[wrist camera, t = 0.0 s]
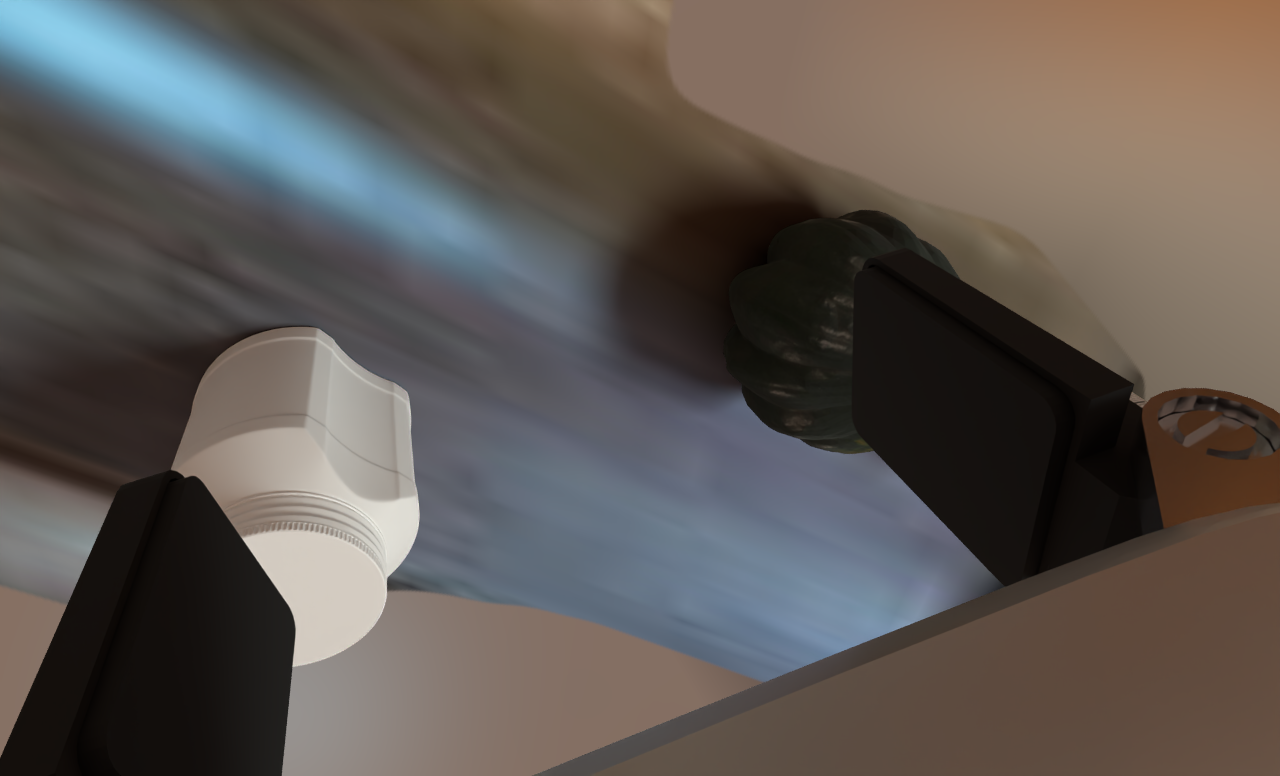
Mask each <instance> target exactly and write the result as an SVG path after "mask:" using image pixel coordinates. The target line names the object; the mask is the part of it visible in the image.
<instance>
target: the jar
mask: <svg viewBox="0 0 1280 776" xmlns="http://www.w3.org/2000/svg"><path fill="white" fill-rule="evenodd" d="M410 430H411V411H410V402H409V397H408V393H407V392H406V391H405V390H404V389H403V388H401V387H400V386H398V385H397V384H396V383H394V382H392V381H388V380H386V379H383V378H381V377H379V376H377V375H375V374H373V373H371V372H369V371H367V370H366V369H364V368H363V367H361V366H360V365H358V364H357V363H356V362H354V361H353V360H352V359H351V358H350V357H349V356H347V355H346V354H345V353H344V352H343V351H342V350H341V349H340V347H339V346H338V345H337V344H336V343H335V341H334V339H333V338H331V337H330V336H328V335H327V334H326V333H324V332H323V331H321V330H320V329H318V328H314V327H287V328H279V329H273V330H269V331H265V332H261V333H258V334H255V335H253V336H250V337H248V338H246V339H243V340H241V341H240V342H238V343H236V344H234V345H233V346H231V347H230V348H228V349H227V350H226V351H224V352H223V353H222V354H221V355H220V356H219V357H217V358H216V359H215V361H214V362H213V363H212V364H211V365H210V366H209V368H208V369H207V371H206V372H205V374H204V376H203V377H202V379H201V381H200V384H199V386H198V389H197V392H196V394H195V397H194V401H193V405H192V411H191V415H190V418H189V420H188V423H187V426H186V429H185V431H184V434H183V437H182V440H181V443H180V445H179V448H178V451H177V454H176V456H175V459H174V462H173V465H172V468H171V470H174V471H177V472H179V473H180V474H182V475H183V476H184V477H185V478H186V477H189V476H196V477H198V478H199V479H200V480H201V481H202V482H203V483H204V484H205V486H206V487H207V489H208V490H209V492H210V493H211V495H212V496H213V497H214V499H215V500H216V502H217V503H218V505H219V506H220V507H221V509H222V510H223V512H224V513H225V515H226V516H227V518H228V519H229V520H230V522H231V523H232V525H233V526H234V528H235V529H236V531H237V532H238V533H239V535H240V536H241V538H242V539H243V541H244V542H245V543H246V545H247V546H248V548H249V549H250V551H251V552H252V554H253V555H254V556H255V558H256V559H257V561H258V562H259V564H260V565H261V567H262V568H263V569H264V571H265V572H266V574H267V575H268V577H269V578H270V579H271V581H272V582H273V584H274V585H275V587H276V588H277V590H278V591H279V592H280V594H281V595H282V597H283V598H284V600H285V601H286V603H287V604H288V605H289V607H290V609H291V611H292V614H293V617H294V621H295V627H296V636H295V646H294V656H293V666H292V667H294V666H300V665H305V664H310V663H313V662H317V661H320V660H323V659H326V658H328V657H331V656H333V655H335V654H338V653H340V652H342V651H343V650H345V649H347V648H349V647H350V646H352V645H353V644H355V643H356V642H357V641H359V640H360V639H361V638H362V637H364V636H365V635H366V634H367V633H368V632H369V631H370V630H371V628H372V627H373V626H374V625H375V623H376V622H377V620H378V619H379V617H380V616H381V613H382V611H383V609H384V606H385V603H386V597H387V577H388V576H389V575H391V574H392V573H393V572H394V571H395V570H396V569H397V567H398V566H399V565H400V564H401V563H402V562H403V560H404V559H405V557H406V556H407V554H408V553H409V551H410V549H411V547H412V545H413V543H414V541H415V538H416V535H417V531H418V526H419V502H418V493H417V489H416V485H415V478H414V467H413V455H412V443H411V431H410Z"/></svg>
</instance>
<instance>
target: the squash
mask: <svg viewBox="0 0 1280 776" xmlns="http://www.w3.org/2000/svg"><path fill="white" fill-rule="evenodd" d="M902 248H907V249H910V250H912V251H913V252H915V253H917V254H918V255H920V256H922V257H923V258H925V259H927V260H928V261H930V262H932V263H933V264H935V265H937V266H938V267H940V268H942V269H943V270H945V271H947V272H948V273H950V274H952V275H953V276H955V277H957V278H958V279H960V278H959V276H958V275H957V273H956V272H955V270H954V269H953V267H952V266H951V264H950V263H949V261H948V260H947V258H946V257H945V256H944V255H943V253H942V252H941V251H940V250H939V249H937V248H935V247H934V246H932V245H931V244H929V243H928V242H926V241H923V240H921V239H919V238H917V237H916V235H915V234H914V233H913V232H912V231H911V230H910V229H909V228H908V227H907V226H906V225H905V224H904V223H902V222H901V221H899V220H897V219H896V218H894V217H892V216H890V215H888V214H886V213H883V212H880V211H873V210H859V211H856V212H852V213H848V214H846V215H843V216H841V217H839V218H837V219H834V218H818V219H810V220H807V221H804V222H801V223H798V224H795V225H791V226H789V227H786V228H785V229H783V230H781V231H780V232H778V233H777V234H776V235H775V236H774V238H773V240H772V242H771V244H770V246H769V248H768V254H767V264H765V265H761V266H757V267H754V268H750V269H747V270H745V271H743V272H741V273H740V274H738V275H737V276H736V277H735V278H734V280H733V281H732V283H731V285H730V289H729V299H730V306H731V310H732V313H733V316H734V318H735V321H736V324H735V325H734V327H733V328H732V329H731V330H730V331H729V333H728V334H727V336H726V338H725V340H724V351H723V354H724V356H725V358H726V362H727V363H726V368H727V370H728V372H729V373H730V374H731V375H732V376H733V377H734V378H735V379H736V380H738V381H739V382H740V383H741V384H742V393H743V396H744V398H745V401H746V403H747V405H748V406H749V407H750V409H751V410H752V411H753V412H754V413H755V414H756V415H757V416H758V418H759V419H760V420H761V421H762V422H763V423H765V424H766V425H767V426H768V427H770V428H771V429H773V430H775V431H777V432H779V433H782V434H786V435H789V436H792V437H795V438H798V439H800V440H802V441H803V442H805V443H806V444H808V445H810V446H812V447H815V448H819V449H823V450H827V451H831V452H839V453H844V454H856V453H864V452H870V451H874V450H873V449H872V448H871V447H870V446H869V445H868V444H867V443H866V442H865V441H864V440H863V439H862V438H861V436H860V435H859V434H858V432H857V430H856V429H855V426H854V424H853V420H852V359H853V304H854V278H855V276H856V274H857V273H858V272H859V271H862V268H863V265H864V263H865V261H866V260H867V259H868V258H871V257H875V256H878V255H881V254H885V253H888V252H891V251H894V250H898V249H902Z"/></svg>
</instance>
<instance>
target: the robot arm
mask: <svg viewBox="0 0 1280 776" xmlns="http://www.w3.org/2000/svg"><path fill="white" fill-rule="evenodd" d="M1133 386H1134V384H1133V383H1131V382H1130V381H1128V380H1126V379H1125V378H1123V377H1121V376H1120V375H1118V374H1116V373H1115V372H1113V371H1111V370H1110V369H1108V368H1106V367H1105V366H1103V365H1101V364H1100V363H1098V362H1096V361H1095V360H1093V359H1091V358H1090V357H1088V356H1086V355H1085V354H1083V353H1081V352H1080V351H1078V350H1076V349H1075V348H1073V347H1071V346H1070V345H1068V344H1066V343H1065V342H1063V341H1061V340H1060V339H1058V338H1056V337H1055V336H1053V335H1051V334H1050V333H1048V332H1046V331H1045V330H1043V329H1041V328H1040V327H1038V326H1036V325H1035V324H1033V323H1031V322H1030V321H1028V320H1026V319H1025V318H1023V317H1021V316H1020V315H1018V314H1016V313H1015V312H1013V311H1011V310H1010V309H1008V308H1006V307H1005V306H1003V305H1002V304H1000V303H998V302H997V301H995V300H993V299H992V298H990V297H988V296H987V295H985V294H983V293H982V292H980V291H978V290H977V289H975V288H973V287H972V286H970V285H968V284H967V283H965V282H963V281H962V280H960V279H958V278H957V277H955V276H953V275H952V274H950V273H948V272H947V271H945V270H943V269H942V268H940V267H938V266H937V265H935V264H933V263H932V262H930V261H928V260H927V259H925V258H923V257H922V256H920V255H918V254H917V253H915V252H913V251H912V250H910V249H907V248H902V249H898V250H894V251H891V252H888V253H885V254H881V255H878V256H875V257H871V258H868V259H867V260H866V261H865V263H864V265H863V268H862V271H859V272H858V273H857V274H856V276H855V278H854V304H853V359H852V420H853V424H854V426H855V429H856V430H857V432H858V434H859V435H860V436H861V438H862V439H863V440H864V441H865V442H866V443H867V444H868V445H869V446H870V447H871V448H872V449H873V450H874V451H875V452H876V453H877V454H878V455H879V456H880V457H881V458H882V460H883V461H884V462H885V463H886V464H887V465H888V466H889V467H890V468H891V469H892V470H893V471H894V472H895V473H896V474H897V475H898V476H899V477H900V478H901V479H902V480H903V481H904V482H905V483H906V484H907V486H908V487H909V488H910V489H911V490H912V491H913V492H914V493H915V494H916V495H917V496H918V497H919V498H920V499H921V500H922V501H923V502H924V503H925V504H926V505H927V506H928V507H929V508H930V509H931V511H932V512H933V513H934V514H935V515H936V516H937V517H938V518H939V519H940V520H941V521H942V522H943V523H944V524H945V525H946V526H947V527H948V528H949V529H950V530H951V531H952V532H953V533H954V534H955V536H956V537H957V538H958V539H959V540H960V541H961V542H962V543H963V544H964V545H965V546H966V547H967V548H968V549H969V550H970V551H971V552H972V553H973V554H974V555H975V556H976V557H977V558H978V559H979V560H980V562H981V563H982V564H983V565H984V566H985V567H986V568H987V569H988V570H989V571H990V572H991V573H992V574H993V575H994V576H995V577H996V578H997V579H998V580H999V581H1000V582H1001V583H1002V584H1003V585H1004V586H1006V587H1004V588H1001V589H999V590H996V591H994V592H991V593H989V594H986V595H984V596H981V597H979V598H976V599H974V600H971V601H969V602H966V603H963V604H961V605H958V606H956V607H953V608H951V609H948V610H946V611H943V612H941V613H938V614H936V615H933V616H931V617H928V618H925V619H923V620H920V621H918V622H915V623H913V624H910V625H908V626H905V627H903V628H900V629H898V630H895V631H893V632H890V633H887V634H885V635H882V636H880V637H877V638H875V639H872V640H870V641H867V642H865V643H862V644H860V645H857V646H855V647H852V648H849V649H847V650H844V651H842V652H839V653H837V654H834V655H832V656H829V657H827V658H824V659H822V660H819V661H817V662H814V663H812V664H809V665H807V666H804V667H802V668H799V669H797V670H794V671H792V672H789V673H787V674H784V675H782V676H779V677H777V678H774V679H772V680H769V681H767V682H764V683H762V684H759V685H757V686H754V687H752V688H749V689H747V690H744V691H742V692H740V693H737V694H734V695H732V696H729V697H727V698H724V699H722V700H720V701H717V702H714V703H712V704H709V705H707V706H704V707H702V708H699V709H697V710H694V711H692V712H689V713H687V714H685V715H682V716H679V717H677V718H675V719H672V720H670V721H667V722H665V723H662V724H660V725H657V726H655V727H652V728H650V729H647V730H645V731H642V732H640V733H637V734H635V735H632V736H630V737H627V738H625V739H622V740H620V741H618V742H615V743H612V744H610V745H607V746H605V747H603V748H600V749H597V750H595V751H592V752H590V753H588V754H585V755H582V756H580V757H578V758H575V759H573V760H570V761H568V762H565V763H563V764H560V765H558V766H556V767H553V768H551V769H548V770H546V771H543V772H541V773H538V774H536V775H533V776H1280V413H1278V412H1277V411H1275V410H1274V409H1272V408H1270V407H1268V406H1266V405H1264V404H1262V403H1260V402H1258V401H1256V400H1254V399H1251V398H1248V397H1244V396H1241V395H1238V394H1234V393H1231V392H1227V391H1220V390H1213V389H1207V388H1181V389H1175V390H1169V391H1164V392H1162V393H1160V394H1158V395H1156V396H1154V397H1152V398H1150V399H1149V400H1148V402H1147V403H1146V404H1145V405H1144V406H1143V408H1142V407H1140V406H1139V405H1137V404H1136V403H1134V402H1132V401H1131V400H1130V396H1131V393H1132V390H1133ZM295 636H296V627H295V621H294V617H293V614H292V611H291V609H290V607H289V605H288V604H287V603H286V601H285V600H284V598H283V597H282V595H281V594H280V592H279V591H278V590H277V588H276V587H275V585H274V584H273V582H272V581H271V579H270V578H269V577H268V575H267V574H266V572H265V571H264V569H263V568H262V567H261V565H260V564H259V562H258V561H257V559H256V558H255V556H254V555H253V554H252V552H251V551H250V549H249V548H248V546H247V545H246V543H245V542H244V541H243V539H242V538H241V536H240V535H239V533H238V532H237V531H236V529H235V528H234V526H233V525H232V523H231V522H230V520H229V519H228V518H227V516H226V515H225V513H224V512H223V510H222V509H221V507H220V506H219V505H218V503H217V502H216V500H215V499H214V497H213V496H212V495H211V493H210V492H209V490H208V489H207V487H206V486H205V484H204V483H203V482H202V481H201V480H200V479H199V478H198V477H196V476H189V477H186V478H185V477H184V476H183V475H182V474H180V473H179V472H177V471H174V470H170V471H166V472H163V473H160V474H156V475H153V476H150V477H147V478H143V479H140V480H137V481H133V482H130V483H127V484H125V485H122V486H121V487H120V488H119V490H118V491H117V493H116V495H115V498H114V500H113V502H112V505H111V507H110V509H109V511H108V514H107V516H106V518H105V520H104V523H103V525H102V527H101V530H100V532H99V534H98V536H97V539H96V541H95V543H94V546H93V548H92V550H91V552H90V555H89V557H88V559H87V561H86V564H85V566H84V568H83V571H82V573H81V575H80V577H79V580H78V582H77V584H76V587H75V589H74V591H73V593H72V596H71V598H70V600H69V602H68V605H67V607H66V609H65V612H64V614H63V616H62V618H61V621H60V623H59V625H58V628H57V630H56V632H55V634H54V637H53V639H52V641H51V643H50V646H49V648H48V650H47V653H46V655H45V657H44V659H43V662H42V664H41V666H40V668H39V671H38V673H37V675H36V678H35V680H34V682H33V685H32V687H31V689H30V691H29V694H28V696H27V698H26V701H25V703H24V705H23V707H22V709H21V712H20V714H19V716H18V719H17V721H16V723H15V725H14V728H13V730H12V733H11V735H10V737H9V739H8V741H7V744H6V746H5V748H4V751H3V753H2V755H1V757H0V776H282V765H283V756H284V746H285V736H286V726H287V716H288V706H289V696H290V686H291V676H292V666H293V656H294V646H295Z"/></svg>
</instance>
